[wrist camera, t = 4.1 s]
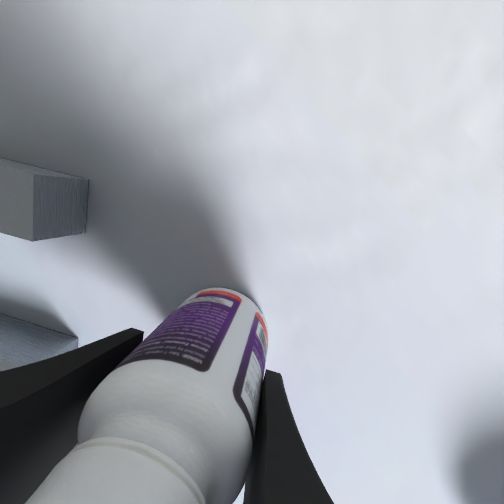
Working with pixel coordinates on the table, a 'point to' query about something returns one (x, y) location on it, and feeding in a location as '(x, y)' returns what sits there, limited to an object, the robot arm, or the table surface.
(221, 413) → the pill bottle
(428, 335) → the table surface
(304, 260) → the table surface
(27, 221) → the bracket
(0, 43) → the table surface
